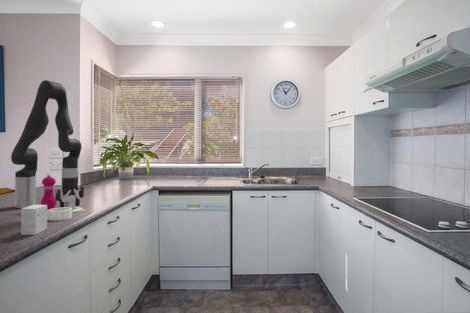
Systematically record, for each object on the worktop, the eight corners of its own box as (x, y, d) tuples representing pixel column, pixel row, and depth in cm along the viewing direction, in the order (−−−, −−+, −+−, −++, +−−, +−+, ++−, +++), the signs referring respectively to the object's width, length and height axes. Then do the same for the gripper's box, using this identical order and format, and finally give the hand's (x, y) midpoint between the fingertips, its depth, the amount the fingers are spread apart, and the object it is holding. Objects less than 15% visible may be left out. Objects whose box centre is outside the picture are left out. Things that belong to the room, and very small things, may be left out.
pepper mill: (48, 213, 144) (48, 175, 143) (37, 212, 145) (37, 174, 144) (59, 210, 151) (60, 173, 150) (48, 209, 152) (49, 173, 151)
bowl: (42, 220, 129) (42, 210, 129) (64, 216, 138) (64, 206, 138) (55, 223, 125) (55, 212, 125) (76, 219, 134) (76, 208, 134)
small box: (33, 229, 116) (33, 204, 116) (47, 229, 117) (47, 204, 117) (20, 235, 108) (20, 208, 108) (35, 235, 109) (35, 208, 109)
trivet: (51, 213, 143) (51, 211, 143) (73, 209, 154) (73, 207, 154) (65, 216, 138) (65, 214, 138) (87, 211, 148) (87, 210, 148)
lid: (51, 211, 143) (52, 201, 143) (73, 207, 154) (73, 198, 153) (65, 214, 138) (65, 203, 138) (87, 210, 148) (87, 200, 148)
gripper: (78, 175, 153) (78, 204, 154) (51, 177, 141) (51, 209, 141) (87, 175, 150) (87, 205, 150) (60, 178, 137) (60, 210, 138)
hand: (69, 207), depth 146 cm, fingers open, 7 cm apart
